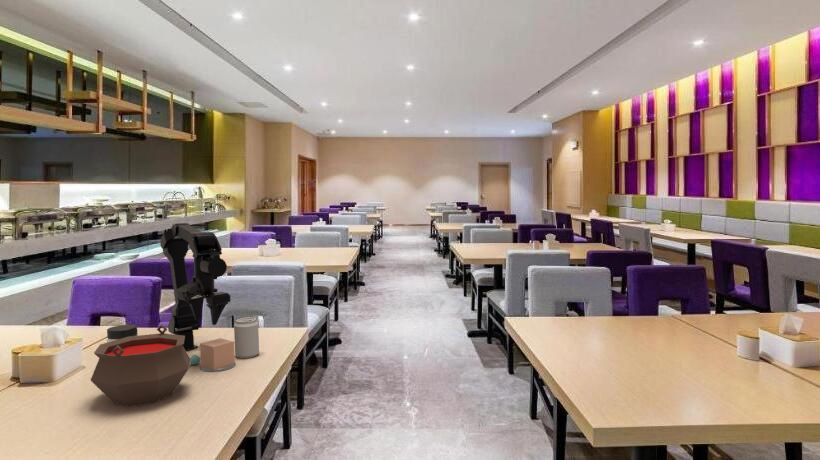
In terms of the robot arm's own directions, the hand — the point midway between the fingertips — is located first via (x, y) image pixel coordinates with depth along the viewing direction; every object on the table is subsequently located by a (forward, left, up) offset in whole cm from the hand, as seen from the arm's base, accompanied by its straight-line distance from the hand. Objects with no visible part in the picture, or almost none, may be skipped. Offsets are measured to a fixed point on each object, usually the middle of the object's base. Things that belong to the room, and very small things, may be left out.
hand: (205, 322), depth 166 cm
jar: (-17, -17, -13) cm, 27 cm away
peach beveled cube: (+8, -1, -12) cm, 14 cm away
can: (+6, +11, -13) cm, 17 cm away
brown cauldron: (+13, -26, -13) cm, 32 cm away
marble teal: (0, -4, -12) cm, 13 cm away
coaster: (+8, -1, -12) cm, 15 cm away
